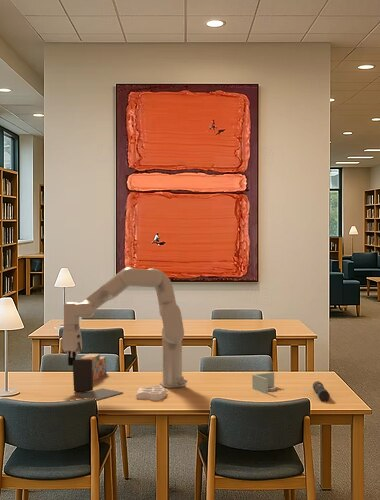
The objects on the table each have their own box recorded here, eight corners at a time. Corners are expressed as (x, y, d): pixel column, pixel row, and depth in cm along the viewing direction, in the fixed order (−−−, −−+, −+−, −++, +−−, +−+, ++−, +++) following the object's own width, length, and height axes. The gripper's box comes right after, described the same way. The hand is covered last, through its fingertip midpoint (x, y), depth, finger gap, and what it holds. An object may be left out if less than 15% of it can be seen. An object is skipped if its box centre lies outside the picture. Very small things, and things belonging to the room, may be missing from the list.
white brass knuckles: (138, 392, 358) (168, 391, 358) (135, 401, 340) (167, 401, 340) (138, 385, 358) (168, 385, 358) (135, 394, 340) (167, 393, 340)
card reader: (94, 390, 359) (93, 359, 360) (92, 391, 355) (91, 359, 356) (75, 390, 360) (74, 359, 361) (73, 391, 356) (72, 360, 357)
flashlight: (318, 401, 336) (318, 390, 336) (311, 390, 358) (311, 380, 358) (329, 401, 336) (329, 390, 336) (322, 390, 358) (322, 380, 358)
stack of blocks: (95, 373, 402) (95, 350, 401) (106, 373, 400) (106, 350, 400) (80, 381, 381) (79, 357, 380) (91, 382, 379) (91, 358, 379)
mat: (123, 393, 354) (123, 392, 354) (96, 400, 340) (96, 399, 340) (102, 389, 363) (102, 388, 363) (74, 396, 348) (74, 395, 348)
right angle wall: (266, 395, 351) (266, 379, 351) (252, 389, 362) (252, 374, 362) (287, 392, 357) (287, 376, 357) (273, 387, 368) (273, 372, 367)
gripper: (87, 328, 360) (88, 365, 360) (66, 325, 369) (67, 362, 370) (76, 329, 354) (76, 368, 355) (55, 327, 363) (55, 364, 364)
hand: (71, 365), depth 362 cm, fingers closed
